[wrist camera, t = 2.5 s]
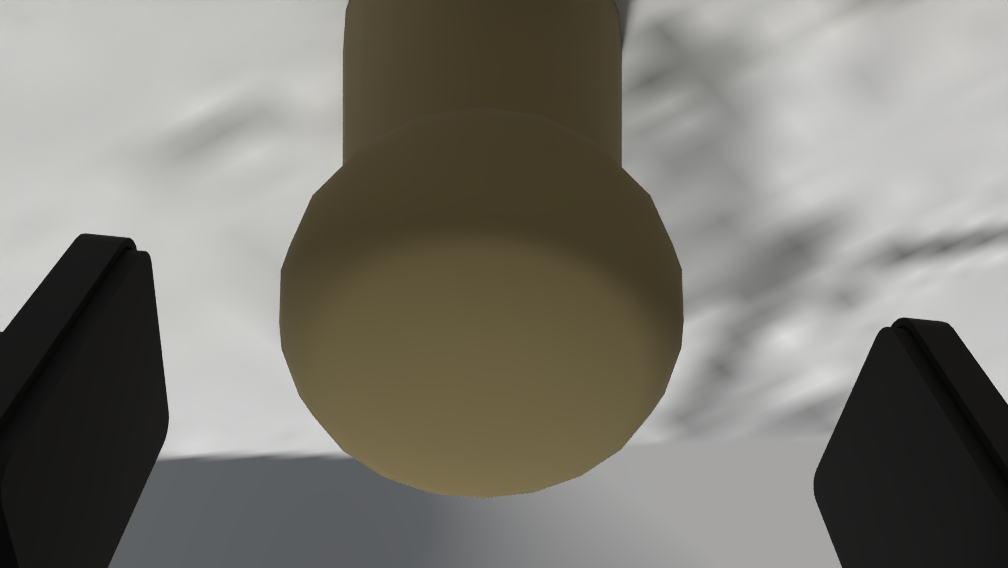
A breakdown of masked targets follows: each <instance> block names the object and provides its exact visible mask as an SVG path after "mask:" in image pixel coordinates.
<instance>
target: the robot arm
mask: <svg viewBox="0 0 1008 568" xmlns="http://www.w3.org/2000/svg"><path fill="white" fill-rule="evenodd" d="M168 422H169V411H168V402H167V394H166V385H165V376H164V367H163V359H162V350H161V341H160V332H159V324H158V315H157V306H156V297H155V289H154V280H153V271H152V263H151V258H150V255H149V253H148V252H146V251H137V249H136V245H135V243H134V241H133V240H132V239H131V238H125V237H115V236H106V235H96V234H86V233H85V234H80V235H79V236H78V237H77V238H76V239H75V240H74V242H73V243H72V244H71V246H70V247H69V248H68V249H67V251H66V252H65V253H64V254H63V256H62V257H61V258H60V260H59V261H58V262H57V263H56V265H55V266H54V267H53V269H52V270H51V271H50V272H49V274H48V275H47V276H46V278H45V279H44V280H43V281H42V283H41V284H40V285H39V286H38V288H37V289H36V290H35V292H34V293H33V294H32V295H31V297H30V298H29V299H28V301H27V302H26V303H25V304H24V306H23V307H22V308H21V310H20V311H19V312H18V313H17V315H16V316H15V317H14V318H13V320H12V321H11V322H10V324H9V325H8V326H7V327H6V329H5V330H4V331H3V332H0V568H108V566H109V564H110V561H111V559H112V557H113V555H114V553H115V550H116V548H117V546H118V544H119V542H120V539H121V537H122V535H123V533H124V530H125V528H126V526H127V524H128V521H129V519H130V517H131V515H132V513H133V510H134V508H135V506H136V504H137V502H138V499H139V497H140V495H141V493H142V490H143V488H144V486H145V484H146V482H147V479H148V477H149V475H150V473H151V471H152V468H153V466H154V464H155V462H156V459H157V457H158V455H159V453H160V451H161V448H162V446H163V444H164V441H165V438H166V434H167V430H168ZM814 495H815V499H816V502H817V504H818V507H819V510H820V512H821V515H822V517H823V520H824V522H825V525H826V527H827V530H828V532H829V535H830V538H831V540H832V543H833V545H834V548H835V550H836V553H837V555H838V558H839V561H840V563H841V566H842V568H1008V404H1007V403H1006V402H1005V400H1004V399H1003V397H1002V396H1001V395H1000V393H999V392H998V390H997V389H996V388H995V386H994V385H993V383H992V382H991V381H990V379H989V378H988V376H987V375H986V374H985V372H984V371H983V369H982V368H981V367H980V365H979V364H978V362H977V361H976V360H975V358H974V357H973V355H972V354H971V353H970V351H969V350H968V348H967V347H966V346H965V344H964V343H963V341H962V340H961V339H960V337H959V336H958V334H957V333H956V332H955V330H954V329H953V328H952V327H951V326H950V325H949V324H948V323H946V322H942V321H932V320H923V319H913V318H900V319H897V320H896V321H895V322H894V323H893V324H892V326H891V327H885V328H882V329H881V330H880V331H879V333H878V334H877V336H876V338H875V341H874V343H873V345H872V347H871V349H870V352H869V354H868V356H867V358H866V361H865V363H864V365H863V367H862V369H861V372H860V374H859V376H858V378H857V381H856V383H855V385H854V387H853V389H852V392H851V394H850V396H849V398H848V401H847V403H846V405H845V407H844V409H843V412H842V414H841V416H840V418H839V421H838V423H837V425H836V427H835V429H834V432H833V434H832V436H831V438H830V441H829V443H828V445H827V448H826V450H825V452H824V454H823V456H822V458H821V461H820V463H819V465H818V468H817V470H816V473H815V477H814Z"/></svg>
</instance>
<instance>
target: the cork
mask: <svg viewBox="0 0 1008 568" xmlns="http://www.w3.org/2000/svg"><path fill="white" fill-rule="evenodd" d="M683 322H684V319H683V292H682V269H681V266H680V264H679V261H678V258H677V255H676V252H675V250H674V247H673V244H672V242H671V240H670V238H669V235H668V233H667V231H666V229H665V227H664V224H663V222H662V220H661V218H660V216H659V214H658V211H657V209H656V207H655V205H654V203H653V200H652V198H651V196H650V195H649V194H648V193H647V192H646V191H645V190H644V189H643V188H642V187H641V186H640V185H639V184H638V183H637V182H636V181H635V180H634V179H633V178H632V177H631V176H630V175H629V174H628V173H627V172H626V171H625V170H624V169H623V168H622V54H621V40H620V26H619V12H618V10H617V8H616V5H615V3H614V0H350V2H349V5H348V7H347V9H346V16H345V31H344V46H343V166H342V167H341V168H340V169H339V170H338V171H337V172H336V173H335V174H334V175H333V176H332V177H331V178H330V179H329V180H328V181H327V182H326V183H325V184H324V185H323V186H322V187H321V188H320V189H319V190H318V191H317V192H316V193H315V194H314V195H313V196H312V198H311V200H310V202H309V205H308V207H307V209H306V211H305V213H304V216H303V218H302V220H301V222H300V224H299V227H298V229H297V231H296V233H295V235H294V238H293V240H292V242H291V244H290V247H289V249H288V252H287V255H286V258H285V260H284V263H283V266H282V269H281V283H280V316H279V324H280V336H281V347H282V351H283V354H284V357H285V359H286V362H287V365H288V367H289V370H290V373H291V375H292V378H293V381H294V383H295V386H296V389H297V391H298V394H299V396H300V397H301V399H302V400H303V402H304V403H305V405H306V406H307V408H308V409H309V410H310V412H311V413H312V415H313V416H314V417H315V419H316V420H317V421H318V422H319V423H320V424H321V426H322V427H323V428H324V429H325V430H326V431H327V433H328V434H329V435H330V436H331V437H332V438H333V440H334V441H335V442H336V443H337V444H338V445H339V447H340V448H341V449H342V450H343V451H344V452H346V453H347V454H349V455H350V456H352V457H353V458H355V459H357V460H358V461H360V462H361V463H363V464H364V465H366V466H367V467H369V468H371V469H372V470H374V471H375V472H377V473H378V474H380V475H382V476H383V477H385V478H388V479H391V480H394V481H397V482H400V483H403V484H406V485H409V486H412V487H415V488H418V489H421V490H424V491H427V492H430V493H436V494H446V495H456V496H466V497H476V498H488V497H498V496H507V495H515V494H524V493H533V492H536V491H539V490H542V489H545V488H547V487H551V486H553V485H556V484H559V483H562V482H565V481H568V480H571V479H573V478H576V477H579V476H582V475H583V474H584V473H586V472H588V471H589V470H590V469H592V468H594V467H595V466H597V465H598V464H600V463H601V462H603V461H604V460H606V459H607V458H609V457H610V456H612V455H613V454H615V453H616V452H618V451H619V450H621V449H622V448H623V446H624V445H625V444H626V443H627V442H628V440H629V439H630V438H631V437H632V436H633V434H634V433H635V432H636V431H637V430H638V428H639V427H640V426H641V425H642V424H643V422H644V421H645V420H646V419H647V418H648V416H649V415H650V414H651V413H652V411H653V410H654V408H655V407H656V405H657V404H658V402H659V401H660V399H661V398H662V397H663V395H664V394H665V391H666V388H667V385H668V383H669V380H670V377H671V374H672V372H673V369H674V366H675V363H676V361H677V358H678V355H679V353H680V350H681V345H682V333H683Z"/></svg>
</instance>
